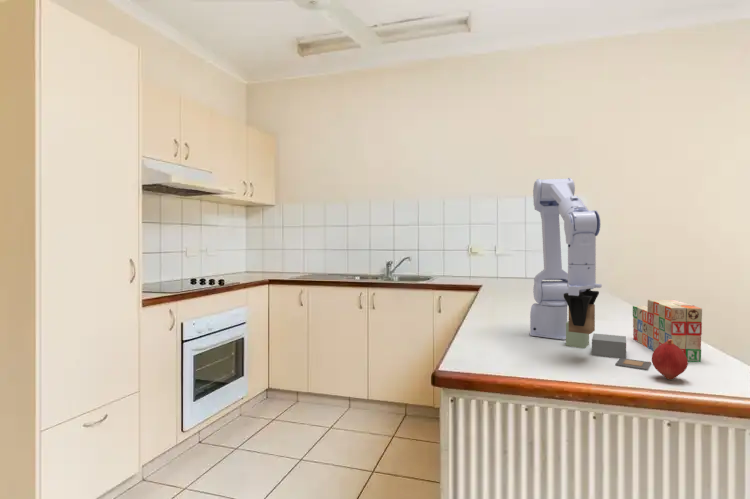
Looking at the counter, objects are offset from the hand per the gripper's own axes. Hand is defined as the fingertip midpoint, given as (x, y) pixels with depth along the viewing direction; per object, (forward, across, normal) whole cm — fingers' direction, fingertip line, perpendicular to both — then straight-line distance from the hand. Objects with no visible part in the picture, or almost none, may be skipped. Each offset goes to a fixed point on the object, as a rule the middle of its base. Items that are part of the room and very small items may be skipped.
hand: (581, 323), depth 99 cm
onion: (+8, -5, -17) cm, 20 cm away
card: (+8, +2, -10) cm, 13 cm away
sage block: (+8, +13, +4) cm, 16 cm away
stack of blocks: (+8, +20, -14) cm, 26 cm away
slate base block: (+8, +9, -4) cm, 13 cm away
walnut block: (+2, 0, 0) cm, 2 cm away
